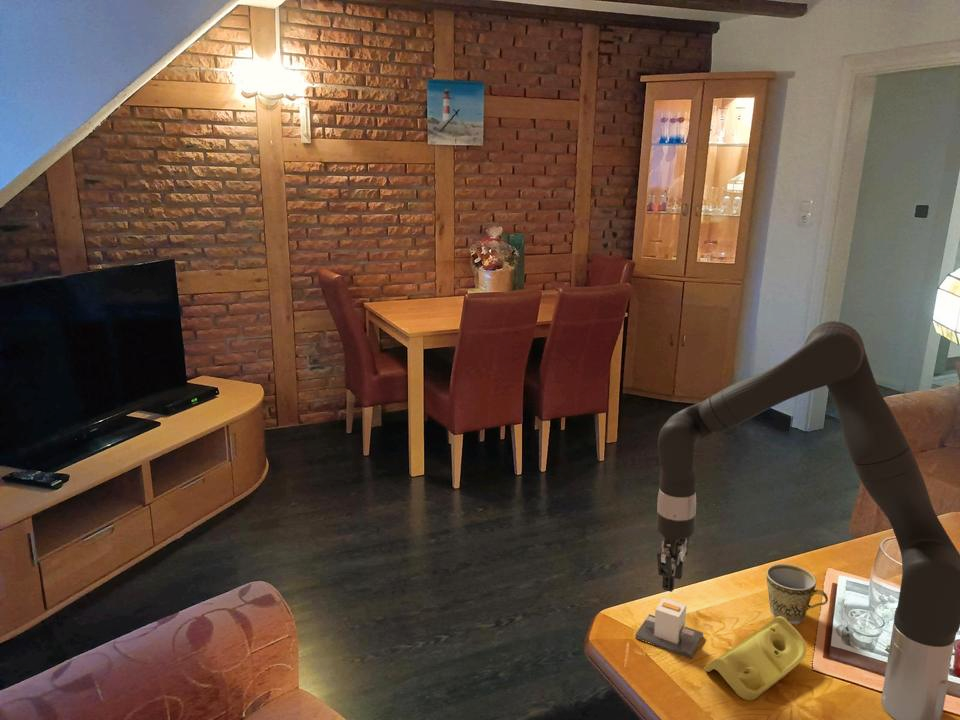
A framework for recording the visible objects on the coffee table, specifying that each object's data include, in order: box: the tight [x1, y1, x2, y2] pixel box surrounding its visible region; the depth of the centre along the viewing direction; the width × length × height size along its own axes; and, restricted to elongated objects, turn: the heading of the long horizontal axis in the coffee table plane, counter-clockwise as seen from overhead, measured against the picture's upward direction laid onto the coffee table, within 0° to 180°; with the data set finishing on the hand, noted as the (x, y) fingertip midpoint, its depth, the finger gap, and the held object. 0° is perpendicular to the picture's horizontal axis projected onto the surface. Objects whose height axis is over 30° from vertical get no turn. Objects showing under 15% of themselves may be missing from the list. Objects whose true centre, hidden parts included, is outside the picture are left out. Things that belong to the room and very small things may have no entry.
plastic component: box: [703, 616, 807, 701], centre depth 138 cm, size 20×7×10 cm
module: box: [654, 597, 687, 644], centre depth 147 cm, size 5×5×7 cm
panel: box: [635, 614, 704, 659], centre depth 148 cm, size 12×8×3 cm, turn 56°
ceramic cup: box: [766, 563, 829, 626], centre depth 152 cm, size 13×10×10 cm
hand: (672, 583), depth 145 cm, fingers open, 4 cm apart
